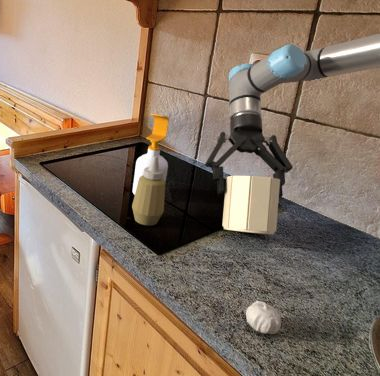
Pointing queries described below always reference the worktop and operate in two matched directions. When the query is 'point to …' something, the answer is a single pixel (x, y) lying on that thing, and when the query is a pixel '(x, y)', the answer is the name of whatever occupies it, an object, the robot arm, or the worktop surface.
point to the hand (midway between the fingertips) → (249, 195)
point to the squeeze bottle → (149, 195)
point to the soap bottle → (153, 150)
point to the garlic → (263, 318)
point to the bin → (251, 204)
